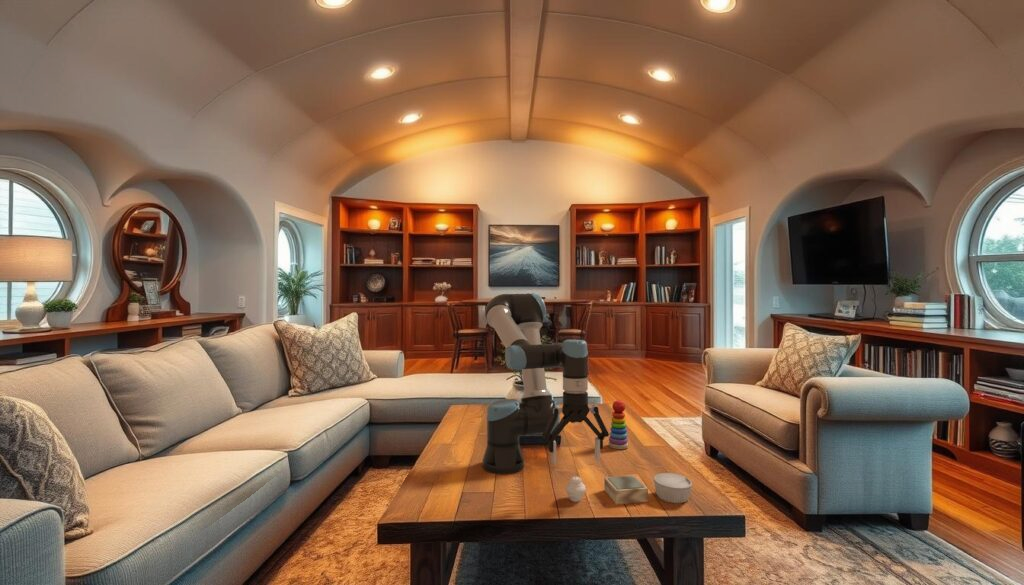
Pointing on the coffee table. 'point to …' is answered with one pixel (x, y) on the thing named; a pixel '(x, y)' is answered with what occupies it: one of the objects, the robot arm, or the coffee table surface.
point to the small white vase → (575, 489)
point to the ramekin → (672, 487)
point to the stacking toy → (618, 427)
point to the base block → (625, 489)
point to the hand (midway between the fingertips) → (575, 461)
